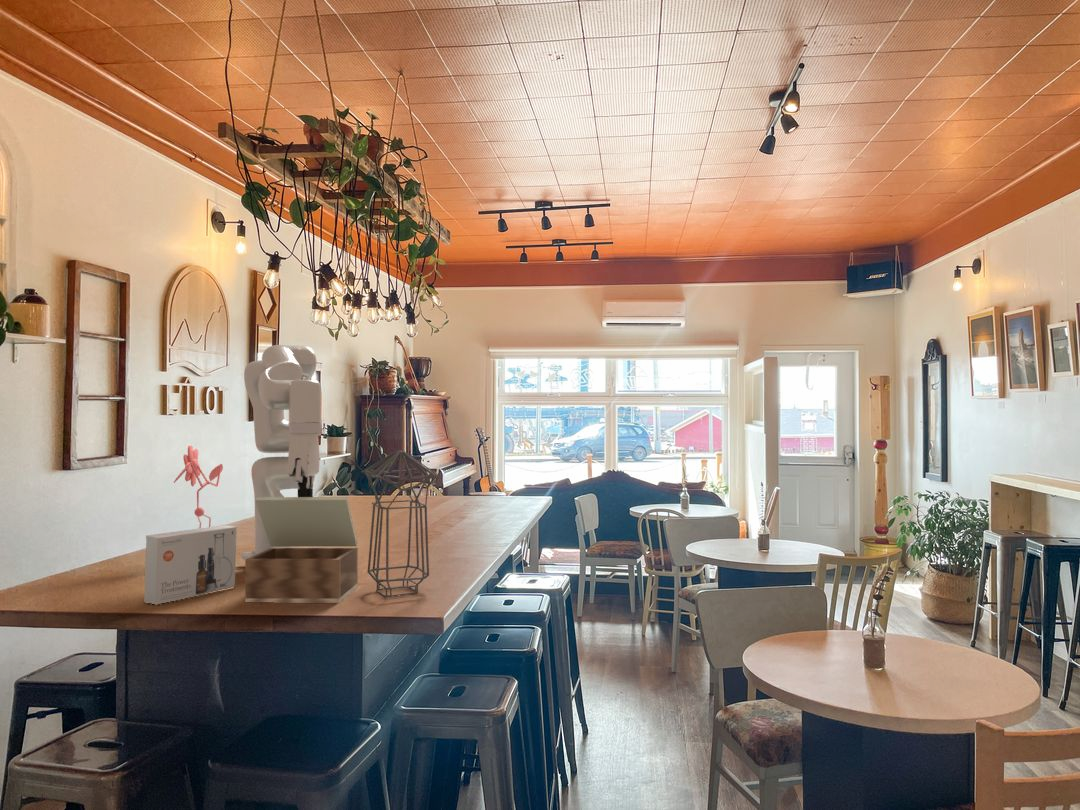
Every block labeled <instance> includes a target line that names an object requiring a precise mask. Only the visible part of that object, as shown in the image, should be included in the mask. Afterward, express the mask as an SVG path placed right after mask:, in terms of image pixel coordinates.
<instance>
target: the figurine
mask: <svg viewBox="0 0 1080 810" xmlns="http://www.w3.org/2000/svg"><path fill="white" fill-rule="evenodd" d="M193 447H194V446H193V445H192V444H191V445H188V446H187V454H186V453H184V454H183V459H182V460H183V464H184V465H185V467H184V469H182V470H181V472H179V474H178V476H176V478H175V479H174V481H173V483H174V484H175V483H176V482H177V481H178V480H179V479H180V478H181V477H182V475H184V474H185V475H184V476H185V477H184V481H185V482H189V481H190V486H191V487H194V486H195V485H196V483H197V481H198V483H199V485H200V488H198V489H197V491H196V509H194V515H195V517H196V518H197V520H198V522H199V527H198V529H199V528H202V521H201V519H200V517H202V516H204V517H205V518H208V520H209V521H208V527H211V521H212V520H211V519H212V518H211V517H210V516H208V515H206V514H205V510H204V509H203V508H202V507H200V505H199V503H200V501H199V500H200V498H199V497H200V496H199V495H200V491H201V490H202V489H204V488H205V487H206V486H207V485H210V486H214V487H218V486H219V483H220V479H221V478H220V477H221V473H222V471H223V470H224V469H223V467H224V466H223V464H222V463H220V464H218V465H217V466H215V467H214V468H213V469H212V470H211V471H210V473H209V475H208V478H209V480H208V479H207V477H206V476H205V474H204V473H203V471H202V469H201V466H200V464H199V449H198V448H195V449H194V448H193ZM201 475H202V477H203V479H204V481H205V482H203V484H202V482H201V480H200V477H199V476H201ZM216 478H217V480H216V483H213V482H212V481H214V479H216Z"/></svg>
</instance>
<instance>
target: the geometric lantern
mask: <svg viewBox="0 0 1080 810" xmlns="http://www.w3.org/2000/svg"><path fill="white" fill-rule="evenodd" d="M397 461H398V469H397V470H394V467H395V465H396V463H397ZM403 462H404V465H405V468H406V469H404V470H403ZM409 466H410V468H409ZM414 466H415V468H414ZM374 469H375V470H374ZM417 471H419V472H420V476H414V477H413V474H414V473H415V472H417ZM360 473H364V474H365V476H366V478H367V480H368V488H372V491H373V493H374V498H375V501H374V502H371V505H372V514H371V526H370V537H369V538H370V539H369V552H368V563H367V565H368V566H367V573H368V575H370V577H371V578H372V579H373V580H374V582H375V583H376V592H377V593H378V592H379V594H380V595H382V596H383V597H385V598H391V597H392V596H393V597H399V596H398V595H400V596H406V595H405V594H408V595H413V593H415V594H418V593H419V585H420V584H421V583H423V581H424V580H426V579H427V578H428V577H429V576H430V566H429V565H430V562H429V560H430V559H429V537H428V536H429V535H428V534H429V533H428V532H429V531H428V508H427V507H428V506H427V502H428V501H427V500H428V493H429V492H428V491H429V487H431V485H432V484H433V483H434V481H435V480H436V479H437V477H438V476H439V474H438V473H436V472H435V471H434V470H433V469H431V468H429V467H428V466H427V465H425V464H423V463H422V462H421V461H419V460H418V459H416V458H415V457H413V456H412V455H411V454H409V453H408V452H406V451H404V450H395V451H394V452H391V453H390V454H387V455H386V456H384V457H383V458H382V459H380V460H378V461H377V462H375V463H373V464H372V465H370V466H368V467H366V468H365V469H363V470H361V471H360ZM391 473H398V474H397V476H396V475H391ZM403 473H408V474H407V475H406V476H405V477H404V478H401V476H402V474H403ZM381 475H382V476H381ZM372 479H374V484H373V481H372ZM379 479H380V480H381V481H384V482H385V484H384V486H383V489H382V491H381V493H380V495H379V496H378V492H377V491H376V487H377V484H378V481H379ZM392 479H397V482H395V481H392ZM419 479H420V480H421V481H420V482H417V484H415V485H413V483H412V481H413V480H419ZM405 481H407V482H409V484H410V487H405V486H404V485H403V483H404V482H405ZM388 484H390V485H392V486H394V487H395V488H396V489H398V490H399V491H398V493H397V494H396V495H395V497H394V498H393V499H392V500H386V501H385V500H382V501H381V499H382V498H383V495H384V492H385V490H386V489H387V486H388ZM419 486H421V487H420V489H419V492H418V493H417V494H416V492H415V489H416V488H418V487H419ZM401 487H402V488H401ZM424 487H426V491H425V492H426V493H425V501H424V503H422V502H420V501H419V497H420V495H421V494H422V491H423V489H424ZM410 490H411V491H412V493H413V496H414V499H413V498H412V497H411V495H410V493H409V492H408V491H410ZM404 491H405V493H406V494H407V495H408V496H409V498H410V499H411V500H410V499H405V500H396V499H397V498H398V496H399V494H401V492H404ZM405 502H407V503H408V502H409V506H400V507H399V506H395V507H391V505H392V504H393V503H405ZM385 503H389V505H387V507H385V506H382V504H385ZM413 504H415V506H413ZM376 507H377V515H376V525H375V513H376ZM398 509H399V510H401V509H405V510H406V509H409V515H408V516H409V519H408V521H409V522H408V539H407V540H408V541H407V542H408V543H407V559H406V560H407V562H406V565H399V566H389V542H390V541H389V538H390V536H389V528H390V527H389V525H390V524H389V521H390V519H389V517H390V516H389V513H390V512H389V511H390V510H398ZM413 509H414V510H415V512H414V513H415V537H416V538H415V539H416V540H415V541H416V542H415V544H416V566H415V565H411V564H410V559H411V537H412V513H413ZM418 509H419V512H418ZM423 509H424V525H423ZM384 510H385V511H386V512H385V513H386V514H385V515H386V516H385V517H386V518H385V520H386V521H385V529H386V530H385V531H386V533H385V534H386V535H385V541H386V542H385V545H386V546H385V550H386V551H385V555H386V556H385V558H386V559H385V567H380V560H381V559H380V558H381V543H382V529H383V520H384V519H383V518H384V517H383V516H384ZM418 513H419V515H418ZM418 516H419V517H418ZM418 518H419V519H418ZM419 522H420V523H419ZM374 525H375V527H376V528H375V536H374ZM419 525H420V546H421V547H420V548H421V550H420V548H419ZM424 527H425V528H424ZM424 530H425V532H424ZM424 533H425V534H424ZM424 535H425V546H424ZM373 538H374V539H375V540H374V551H372V549H373ZM424 547H425V552H424ZM419 551H421V567H420V557H419V555H420V554H419ZM372 552H373V561H372ZM424 554H425V555H426V557H425V555H424ZM425 558H426V571H425ZM371 561H372V568H371ZM408 568H409V569H414V570H413V571H412V572H411V574H409V576H408V577H406V576H407V573H408V572H407V571H408ZM395 569H398V570H399V569H405V571H404V576H403V577H399V578H389V570H395ZM383 570H384V571H385V578H384V579H382V578H381V579H380V578H379V575H380V573H379V571H383ZM417 570H418V571H420V572H421V574H422V576H421V577H419V576H417V577H412V576H413V574H415V572H416V571H417ZM417 580H419V581H418V582H415V581H417ZM401 581H402V585H398V586H390V582H401ZM405 581H406V585H405ZM385 582H386V584H387V586H388V587H386V586H385V585H384V584H383V583H385ZM409 582H411V583H413V585H409ZM380 587H382V588H380ZM408 587H409V588H408ZM405 588H406V589H407V588H408V589H411V590H412V591H413V592H405V593H397V594H392V593H393V590H398V589H405ZM383 589H384V590H385V593H383V592H381V591H383ZM388 590H389V595H388Z"/></svg>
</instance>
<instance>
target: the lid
mask: <svg viewBox="0 0 1080 810" xmlns="http://www.w3.org/2000/svg"><path fill="white" fill-rule="evenodd" d="M255 501H256V504H257V507H258V510H259V513H260V516H261V519H262V522H263V525H264V528H265V531H266V534H267V537H268V540H269V543H270V546H271V547H289V548H333V547H358V540H357V535H356V531H355V526H354V522H353V518H352V514H351V509H350V505H349V500H348V497H347V496H319V497H318V496H313V497H298V496H286V497H285V496H284V497H257V498H256V500H255V499H254V502H255Z"/></svg>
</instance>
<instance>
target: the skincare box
mask: <svg viewBox="0 0 1080 810" xmlns="http://www.w3.org/2000/svg"><path fill="white" fill-rule="evenodd" d="M237 531H238V530H237V526H234V525H233V526H232V525H227V524H223V525H215V526H210V527H209V526H207V527H201V528H199V527H198V528H192V529H185V530H179V531H171V532H163V533H162V532H161V533H155V534H148V535H145V540H146V541H145V542H146V544H145V545H146V546H145V566H144V567H145V568H144V598H143V602H147V603H146V604H148V603H152V604H160V603H165V602H169V603H171V602H170V601H174V602H176V601H175V600H178V601H180V600H179V599H183V598H187V597H192V596H196V595H201V594H205V593H209V592H213V591H218V590H222V589H227V588H231V587H234V586H235V587H236V563H237V562H236V555H237ZM183 600H184V599H183ZM152 604H151V605H152ZM165 604H166V603H165ZM160 605H161V604H160Z"/></svg>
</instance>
